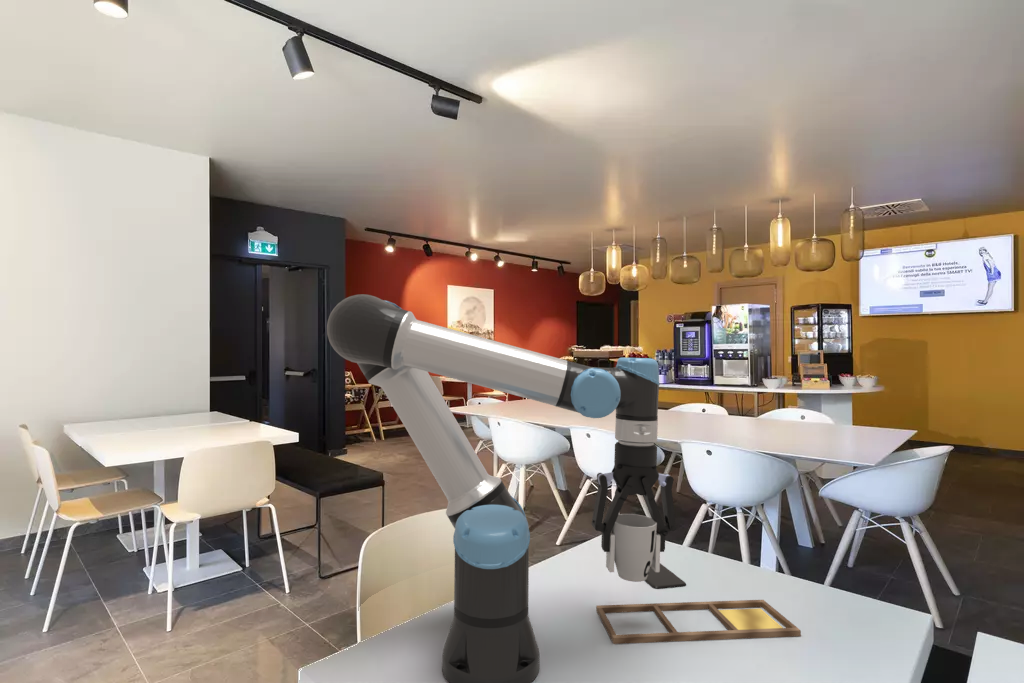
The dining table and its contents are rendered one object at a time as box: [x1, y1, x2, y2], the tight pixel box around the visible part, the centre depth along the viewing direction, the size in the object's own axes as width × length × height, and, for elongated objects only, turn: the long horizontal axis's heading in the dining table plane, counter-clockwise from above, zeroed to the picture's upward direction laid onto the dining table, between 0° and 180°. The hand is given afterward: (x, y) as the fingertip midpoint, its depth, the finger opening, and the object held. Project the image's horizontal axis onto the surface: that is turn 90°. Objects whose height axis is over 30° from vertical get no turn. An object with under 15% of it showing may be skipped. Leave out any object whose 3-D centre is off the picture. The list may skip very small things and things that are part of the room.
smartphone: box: [643, 562, 687, 590], centre depth 123 cm, size 8×1×16 cm
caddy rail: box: [595, 599, 802, 645], centre depth 100 cm, size 33×12×1 cm, turn 95°
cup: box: [612, 513, 657, 583], centre depth 99 cm, size 8×8×10 cm
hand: (632, 569), depth 99 cm, fingers closed on cup, 8 cm apart
